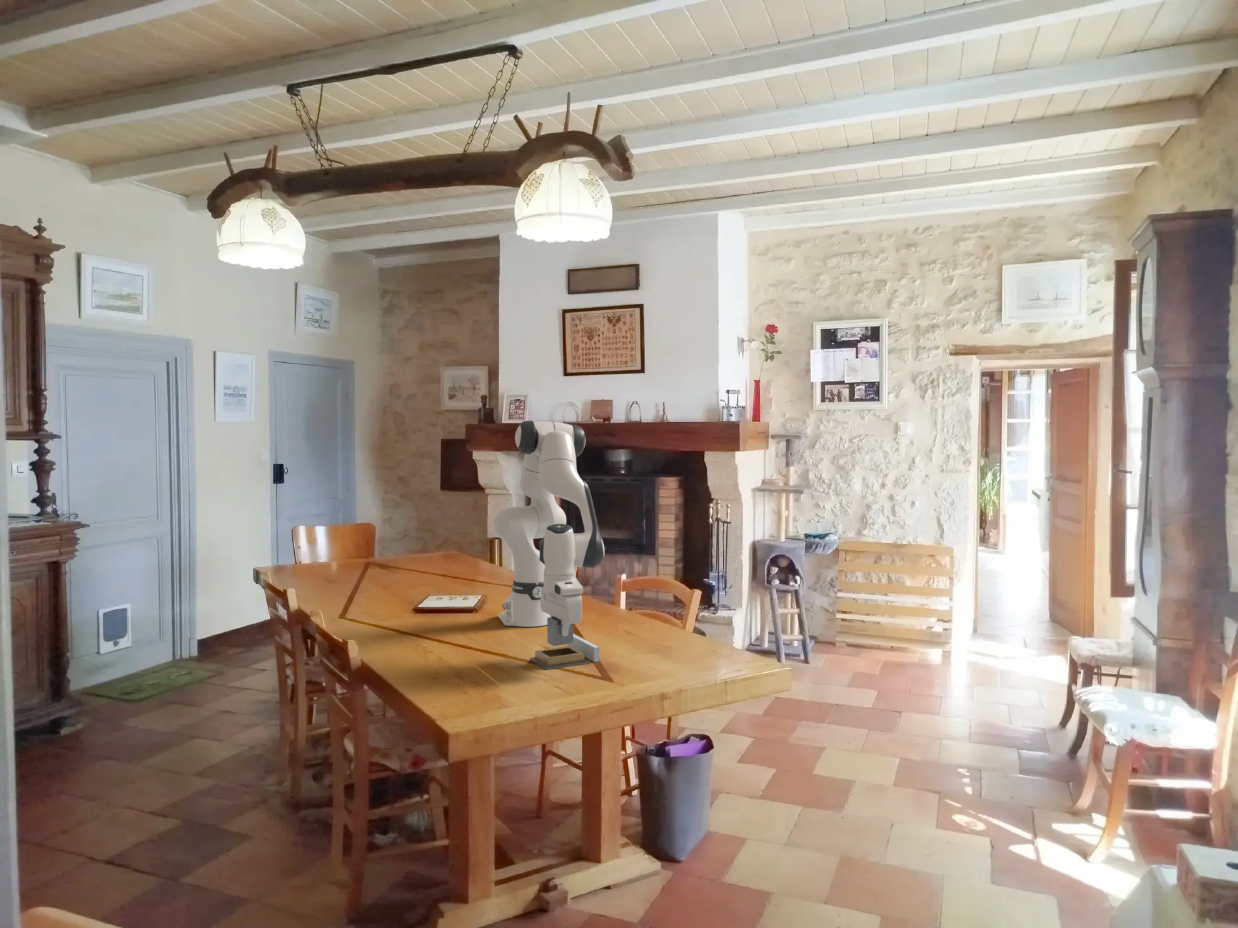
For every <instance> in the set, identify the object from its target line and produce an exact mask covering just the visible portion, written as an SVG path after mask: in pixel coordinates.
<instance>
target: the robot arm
mask: <svg viewBox="0 0 1238 928" xmlns="http://www.w3.org/2000/svg"><path fill="white" fill-rule="evenodd" d="M514 440H515V441H514V442H515V446H516V449H517V450H518V451H519V452H520V453H522V454H524V457H523V458H524V459H523V463H522V468H521V475H520V481H519V488H520V490H521V492H522V493H523V494H524V495H525V496H527V497H528V498H530V500H531V501H530V505H525V506H524V505H523V506H512V507H508V508H505V509H501V510H499V511H498V512H497V513H496V515H495V517H494V519H493V520H494V521H493V528H494V531H495V534H496V535H497V536H498V538H499V539H501V540H502V541H504V542H505V544H506V545H507V546H508V548H509V550H510V552H511V555H512V560H513V571H514V573H513V575H514V579H513V580H512V586H511V587H512V588H511V591H512V592H511V593H510V594H509V595H508V596H507V598H506V599H505V602H502V606H501V607H502V610H503V612H500V613H499V614H498V618H499V620H500V621H501V622H502V623H503V625H504V626H510V627H511V626H513V627H524V628H525V627H526V628H531V627H532V628H533V627H543V626H547V618H549V617H555V618H558V619H560V620H561V624H562V629H560V635H562V636H568V629H569V626H570V624H573V625H574V624H579V623H581V620H582V618H583V617H582V615H583V598H582V596H581V595H582V594H583V593H584V588H583V584H581V583H580V582H579V580H578V578H577V577H576V576H577V575H576V568H586V569H587V568H588V569H594V568H596V567H597V566H599V565H600V564H601V563H602V562H603V561H604V558H605V545H604V540H603V538H602V537H601V536H602V535H601V533H600V529H599V525H598V524H599V523H598V519H597V515H596V511H595V506H594V502H593V498H592V494H591V489H590V487H589V484H588V483H587V481H585V480H584V479H582V478H581V477H580V474H579V473H578V470H577V457H579V456H580V455H582V453H583V452H584V449H585V446H586V434H585V430H584V429H583V428H582V426H579V425H577V424H568V423H565V422H558V421H542V420H541V421H539V420H538V421H537V420H535V421H533V420H524V421H521V423H520V424H519V425H518V427H517V428H516V431H515V434H514ZM555 496H556V497H558V498H560V499H564V500H567V501H568V502H571V503H573V504H574V505H576V506H577V507H578V509H579V511H580V515H581V519H582V524H583V528H584V532H581V533H580V532H578V533H577V532H576V533H574V530H573V527H572V526H571V525H569V524H567V516H566V513H565V511H564V510H563V509H562V508H561V506H559V505H558V503H557V502H556V498H555ZM534 539H540V540H539V542H538V547H539V549H537V548H536V546H535V544H534Z"/></svg>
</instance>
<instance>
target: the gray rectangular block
mask: <svg viewBox="0 0 1238 928" xmlns="http://www.w3.org/2000/svg"><path fill="white" fill-rule="evenodd" d="M546 627H547V629H546V630H547V631H546V632H547V644H549V645H551V646H552V647H556V646H562V645H567V644H571V643H573V634H574V624H570V626H569V629H568V636H562V635H560V629H562V624H561V620H560V619H558V618H555V617H549V618H547V625H546Z"/></svg>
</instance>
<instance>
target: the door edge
mask: <svg viewBox="0 0 1238 928" xmlns="http://www.w3.org/2000/svg"><path fill="white" fill-rule="evenodd" d="M568 646H571V647H573V648H575V649H577V650H579V651H581V652H582V653H584V658H585V659H587V660H589V661H592V662H593V663H597V662H600V646H598V645H596V644H594V643H592V642H590V641H588V640H586V639H584V638H583V637H580V636H578V635H576V634H575V633H573V643H571V644H566V647H568Z"/></svg>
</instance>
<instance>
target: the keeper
mask: <svg viewBox="0 0 1238 928" xmlns="http://www.w3.org/2000/svg"><path fill="white" fill-rule="evenodd" d="M529 660H530V661H531V662H533V663H535V664H536V665H538V666H539V667H540V668H542V669H544V670H545V671H546V670H553V669H561V668H565V667H574V666H579V665H586V664H587V665H588V664H590V660H589V659H587V658H586V657H584V653H582V652H581V651H579V650H577V649H575V648H573V647H571V646H568V647H567V646H563V647H554V648H547V649H541V650H535V651H534V656H533V657H530V658H529Z"/></svg>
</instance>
